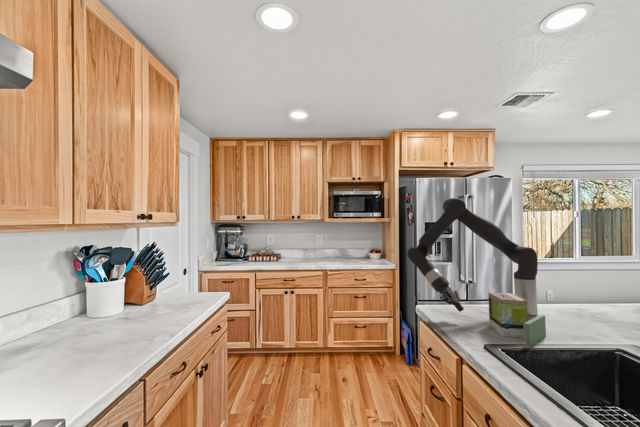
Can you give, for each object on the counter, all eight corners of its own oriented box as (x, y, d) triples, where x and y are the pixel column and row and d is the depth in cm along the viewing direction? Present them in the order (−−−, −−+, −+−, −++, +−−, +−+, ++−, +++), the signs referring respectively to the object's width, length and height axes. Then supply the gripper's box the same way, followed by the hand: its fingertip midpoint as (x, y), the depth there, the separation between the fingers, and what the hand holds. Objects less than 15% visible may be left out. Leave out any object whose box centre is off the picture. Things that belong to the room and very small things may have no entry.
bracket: (539, 334, 124) (538, 314, 124) (546, 335, 122) (544, 315, 122) (523, 344, 113) (522, 322, 114) (530, 346, 111) (529, 324, 112)
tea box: (530, 338, 119) (528, 300, 120) (501, 337, 121) (500, 299, 122) (513, 326, 134) (512, 292, 135) (488, 325, 136) (487, 291, 137)
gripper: (434, 276, 145) (460, 308, 134) (448, 273, 153) (474, 303, 143) (424, 286, 149) (449, 317, 138) (439, 283, 157) (463, 312, 147)
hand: (461, 310), depth 141 cm, fingers closed
